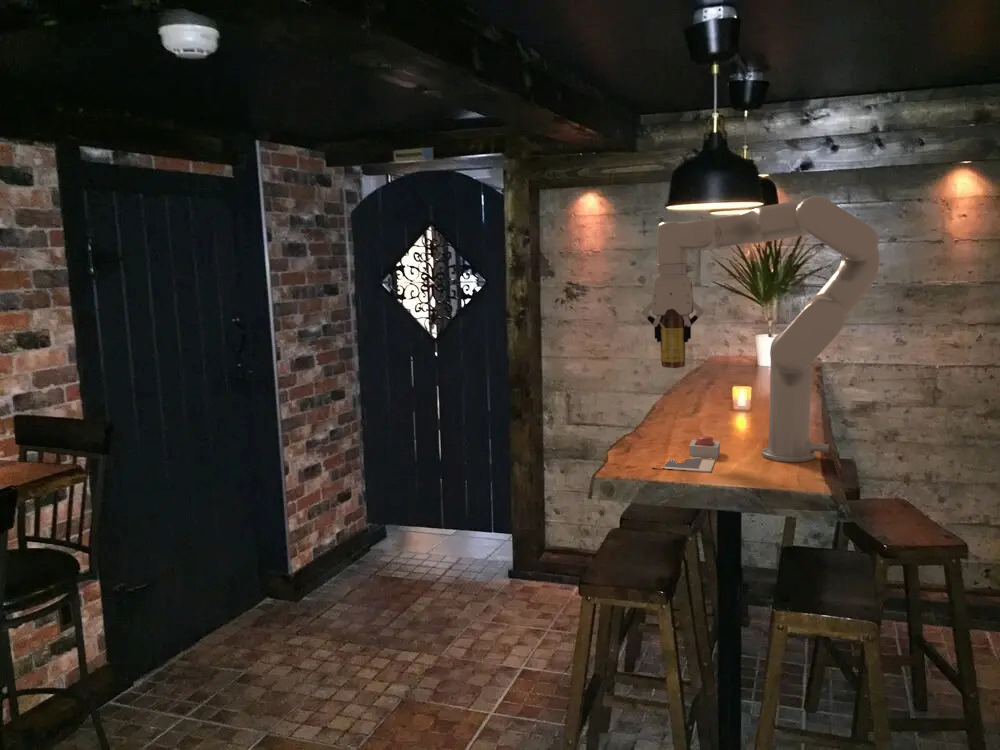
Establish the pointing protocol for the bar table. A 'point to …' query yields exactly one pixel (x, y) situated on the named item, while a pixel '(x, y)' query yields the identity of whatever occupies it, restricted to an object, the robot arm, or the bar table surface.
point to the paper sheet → (692, 465)
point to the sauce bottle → (672, 339)
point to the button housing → (704, 450)
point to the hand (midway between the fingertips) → (672, 341)
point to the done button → (705, 440)
